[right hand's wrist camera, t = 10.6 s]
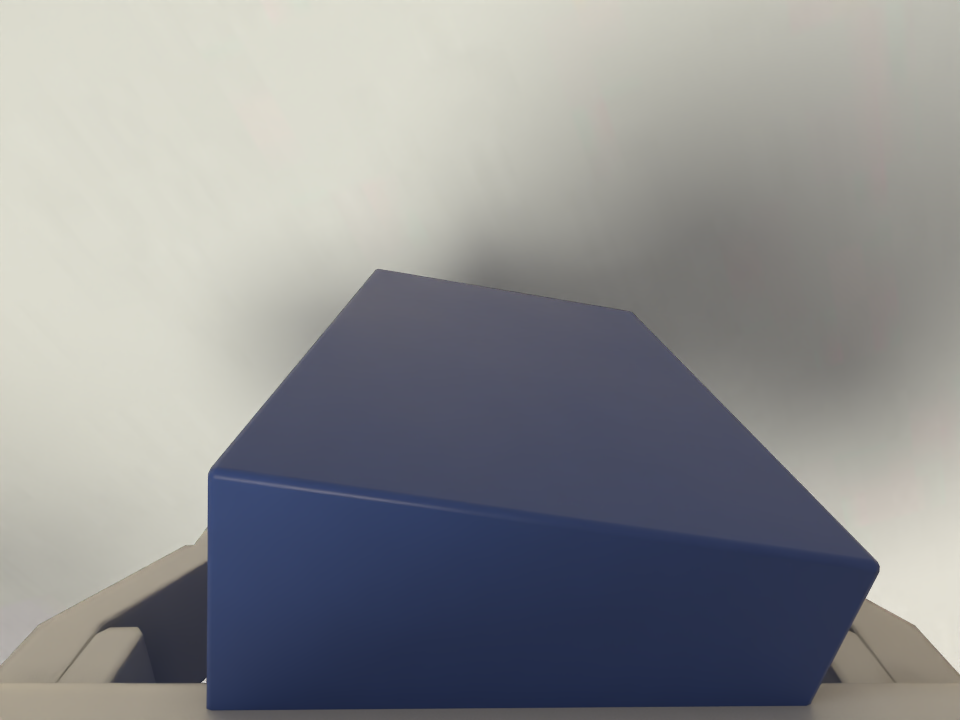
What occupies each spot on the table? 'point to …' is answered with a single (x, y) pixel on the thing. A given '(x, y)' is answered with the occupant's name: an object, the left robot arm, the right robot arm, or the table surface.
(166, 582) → the right robot arm
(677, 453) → the bar
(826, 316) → the table surface
